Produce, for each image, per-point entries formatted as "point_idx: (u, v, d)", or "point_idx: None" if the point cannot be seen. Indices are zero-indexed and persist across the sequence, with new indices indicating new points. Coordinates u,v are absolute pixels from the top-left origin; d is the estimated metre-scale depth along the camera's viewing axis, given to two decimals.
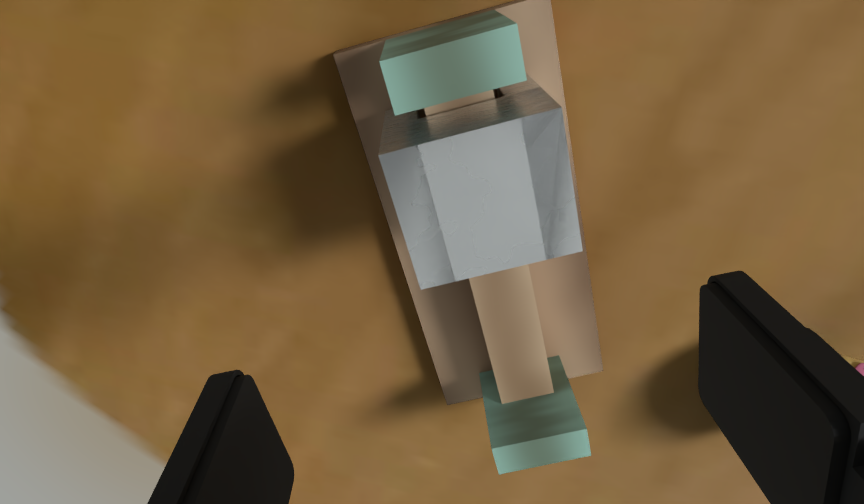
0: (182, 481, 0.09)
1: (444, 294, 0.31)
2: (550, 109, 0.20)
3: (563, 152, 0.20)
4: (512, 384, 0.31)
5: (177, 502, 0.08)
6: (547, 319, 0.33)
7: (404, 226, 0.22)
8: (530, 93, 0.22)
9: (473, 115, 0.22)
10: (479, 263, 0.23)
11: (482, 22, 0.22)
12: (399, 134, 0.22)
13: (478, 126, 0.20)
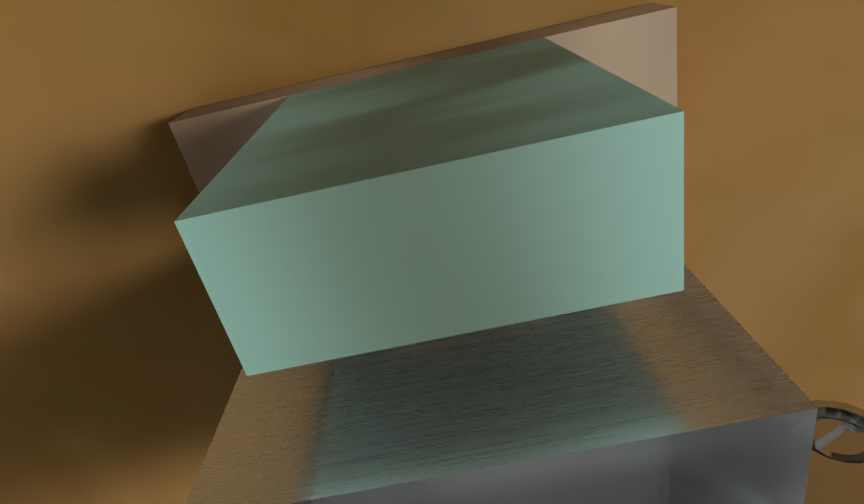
0: None
1: None
2: (773, 409, 0.06)
3: None
4: None
5: None
6: None
7: None
8: None
9: (496, 345, 0.08)
10: None
11: (529, 78, 0.08)
12: (284, 384, 0.08)
13: (518, 442, 0.06)
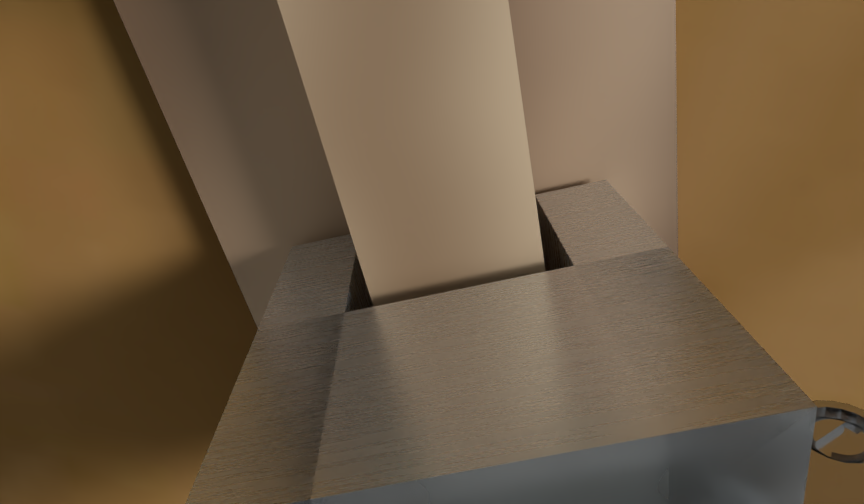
0: None
1: None
2: (773, 407, 0.06)
3: None
4: None
5: None
6: None
7: None
8: (648, 273, 0.08)
9: (495, 345, 0.08)
10: None
11: None
12: (284, 383, 0.08)
13: (517, 441, 0.06)
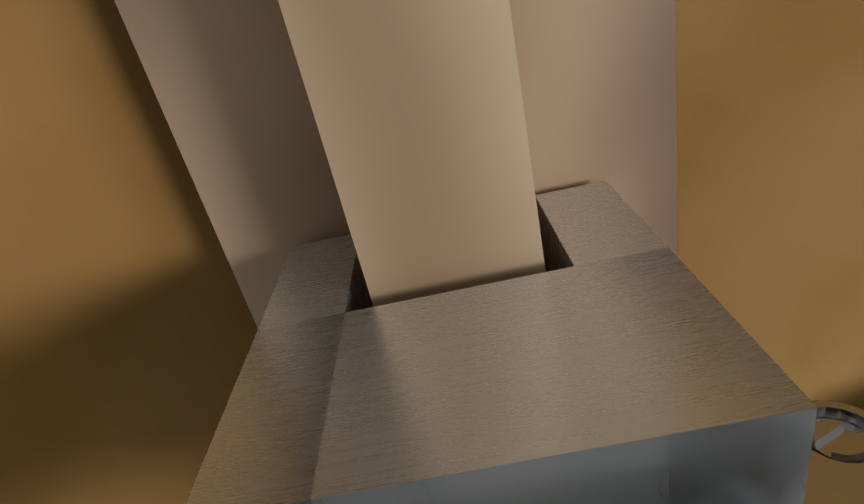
0: None
1: None
2: (773, 408, 0.06)
3: None
4: None
5: None
6: None
7: None
8: (648, 274, 0.08)
9: (495, 345, 0.08)
10: None
11: None
12: (284, 383, 0.08)
13: (518, 442, 0.06)
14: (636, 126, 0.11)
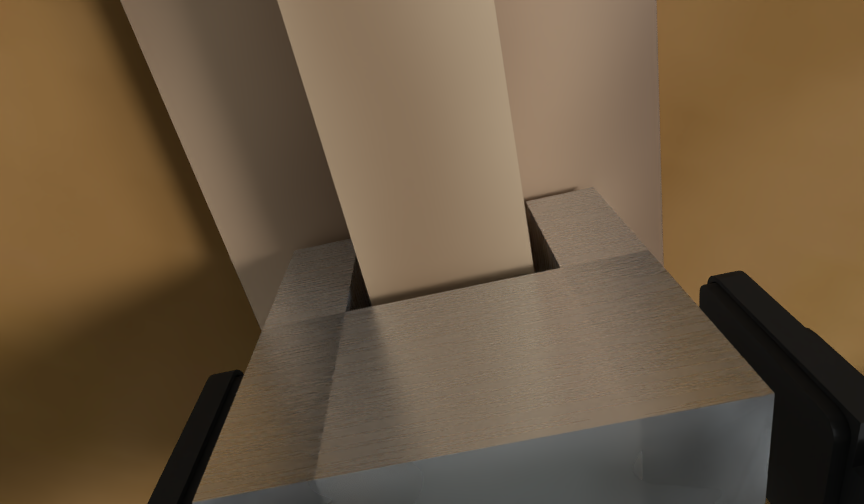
0: (182, 481, 0.09)
1: None
2: (735, 395, 0.06)
3: (751, 496, 0.07)
4: None
5: (177, 502, 0.08)
6: None
7: None
8: (629, 274, 0.09)
9: (486, 340, 0.08)
10: None
11: None
12: (289, 377, 0.08)
13: (504, 427, 0.07)
14: (621, 134, 0.12)
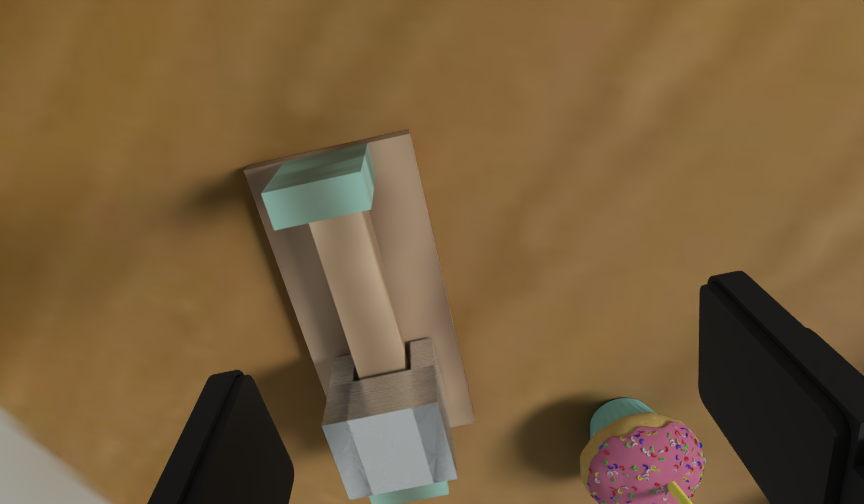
0: (182, 481, 0.09)
1: (338, 356, 0.38)
2: (431, 402, 0.32)
3: (440, 425, 0.32)
4: None
5: (177, 502, 0.08)
6: None
7: (338, 464, 0.33)
8: (426, 372, 0.34)
9: (387, 390, 0.33)
10: (388, 485, 0.34)
11: (347, 160, 0.29)
12: (338, 400, 0.34)
13: (386, 410, 0.32)
14: (439, 321, 0.37)
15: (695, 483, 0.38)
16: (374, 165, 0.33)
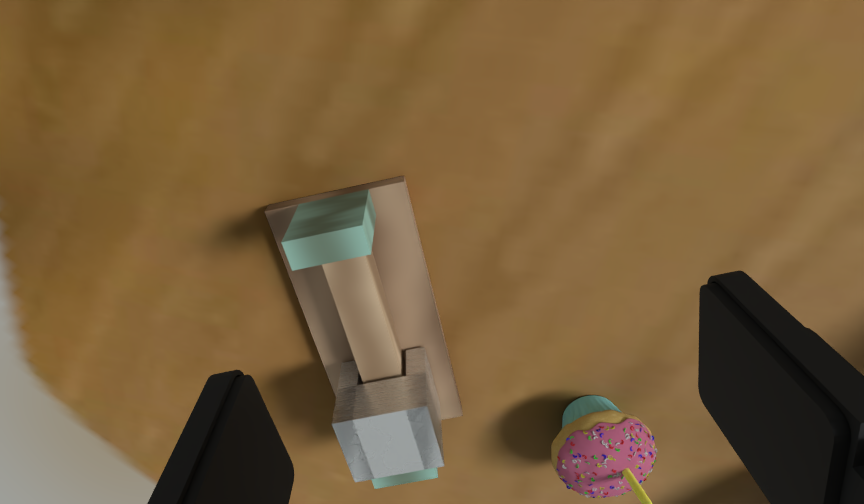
0: (182, 481, 0.09)
1: (345, 361, 0.45)
2: (421, 406, 0.38)
3: (429, 423, 0.39)
4: None
5: (177, 502, 0.08)
6: None
7: (345, 453, 0.40)
8: (418, 379, 0.41)
9: (385, 394, 0.40)
10: (387, 470, 0.41)
11: (351, 210, 0.35)
12: (345, 401, 0.40)
13: (384, 411, 0.39)
14: (431, 333, 0.44)
15: (647, 469, 0.45)
16: (374, 207, 0.39)
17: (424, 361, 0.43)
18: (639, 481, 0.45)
